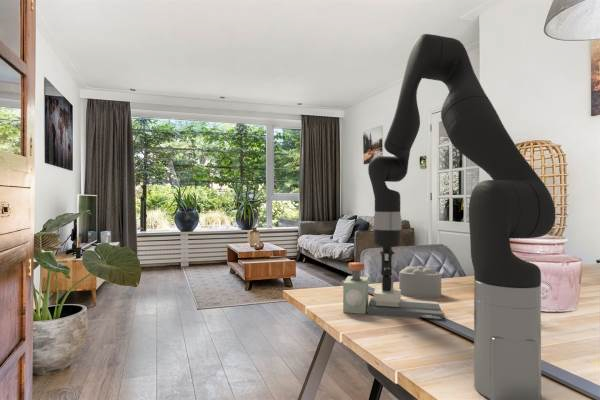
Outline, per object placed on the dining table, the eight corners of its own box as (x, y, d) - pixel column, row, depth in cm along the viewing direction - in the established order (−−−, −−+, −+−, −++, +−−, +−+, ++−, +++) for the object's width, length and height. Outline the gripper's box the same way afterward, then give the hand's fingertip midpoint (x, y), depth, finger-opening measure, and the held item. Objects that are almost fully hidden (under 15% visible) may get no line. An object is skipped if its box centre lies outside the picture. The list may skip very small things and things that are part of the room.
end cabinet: (365, 314, 101) (365, 284, 101) (343, 312, 103) (343, 282, 103) (368, 304, 111) (368, 277, 111) (348, 302, 113) (348, 275, 113)
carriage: (400, 308, 101) (400, 276, 101) (373, 306, 102) (373, 274, 103) (400, 301, 107) (400, 271, 108) (375, 299, 109) (375, 270, 109)
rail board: (442, 319, 97) (442, 308, 97) (367, 313, 101) (367, 302, 101) (438, 309, 106) (438, 298, 106) (370, 304, 111) (370, 294, 111)
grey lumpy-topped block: (402, 288, 133) (402, 263, 133) (442, 292, 128) (442, 266, 128) (397, 295, 123) (397, 268, 123) (440, 299, 118) (440, 271, 118)
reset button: (363, 288, 105) (363, 265, 105) (347, 288, 106) (347, 264, 106) (364, 285, 109) (365, 262, 109) (349, 284, 110) (349, 262, 110)
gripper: (401, 230, 97) (401, 294, 97) (401, 226, 111) (401, 283, 111) (371, 229, 99) (371, 293, 99) (375, 226, 113) (375, 282, 113)
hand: (387, 287), depth 105 cm, fingers open, 6 cm apart
